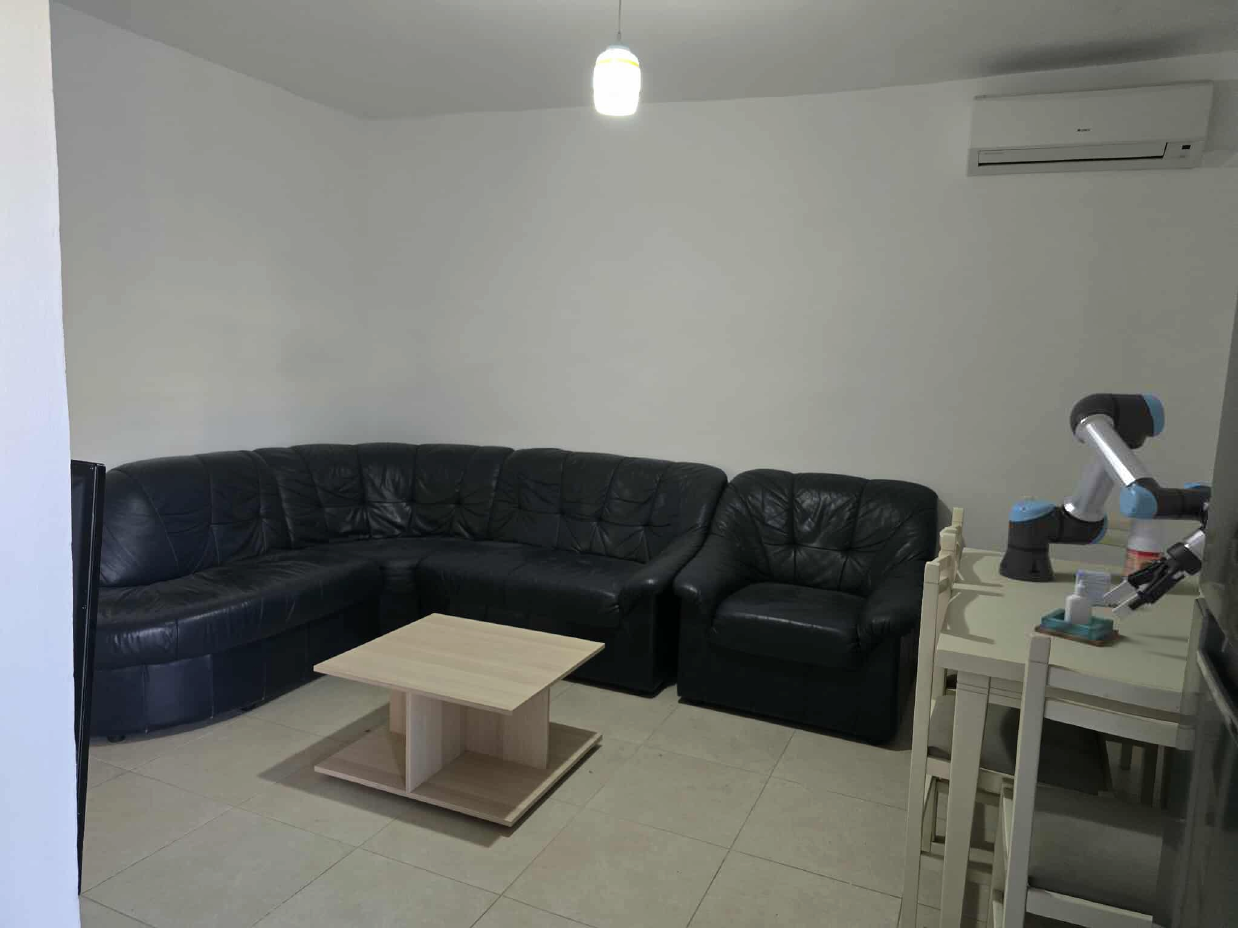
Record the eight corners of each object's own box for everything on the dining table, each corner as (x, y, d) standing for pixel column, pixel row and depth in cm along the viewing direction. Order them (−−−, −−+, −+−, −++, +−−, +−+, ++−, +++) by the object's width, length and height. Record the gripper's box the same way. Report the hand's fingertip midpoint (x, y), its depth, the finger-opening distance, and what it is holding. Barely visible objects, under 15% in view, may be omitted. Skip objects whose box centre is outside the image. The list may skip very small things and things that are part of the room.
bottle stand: (1034, 630, 194) (1035, 617, 194) (1056, 620, 204) (1057, 606, 203) (1098, 646, 184) (1099, 631, 184) (1118, 634, 193) (1119, 620, 193)
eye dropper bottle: (1063, 624, 197) (1068, 576, 196) (1090, 628, 194) (1094, 580, 193) (1063, 628, 193) (1068, 580, 192) (1090, 633, 191) (1095, 584, 189)
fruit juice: (1136, 583, 243) (1145, 492, 240) (1167, 591, 235) (1177, 497, 232) (1115, 585, 240) (1124, 493, 237) (1146, 594, 231) (1156, 498, 228)
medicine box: (1106, 603, 221) (1109, 572, 220) (1108, 607, 217) (1111, 576, 216) (1073, 599, 224) (1076, 569, 223) (1075, 603, 220) (1078, 572, 219)
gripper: (1222, 578, 170) (1133, 635, 178) (1192, 554, 193) (1114, 606, 201) (1195, 551, 172) (1108, 609, 180) (1168, 531, 195) (1092, 583, 202)
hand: (1111, 607), depth 190 cm, fingers open, 13 cm apart
